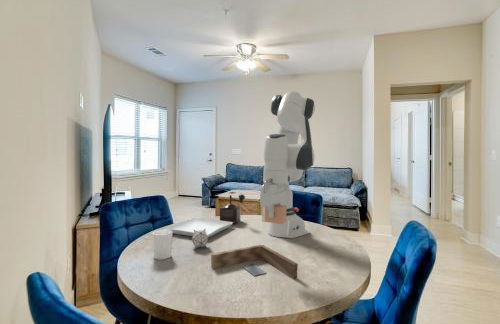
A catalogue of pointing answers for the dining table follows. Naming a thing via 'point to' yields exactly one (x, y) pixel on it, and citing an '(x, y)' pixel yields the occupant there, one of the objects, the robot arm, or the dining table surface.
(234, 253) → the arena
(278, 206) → the block
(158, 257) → the white cup
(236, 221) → the dark brown coffee grinder
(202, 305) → the dining table surface
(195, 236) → the game die
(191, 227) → the square plate
